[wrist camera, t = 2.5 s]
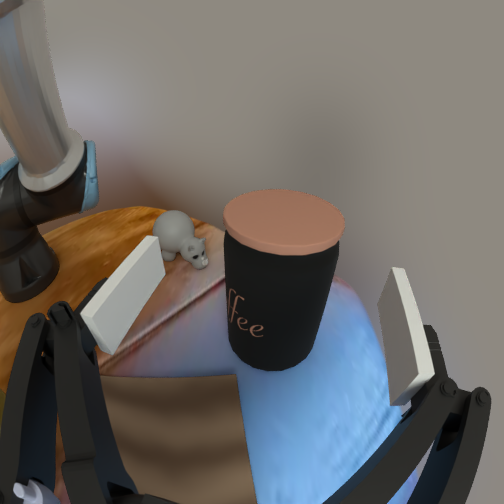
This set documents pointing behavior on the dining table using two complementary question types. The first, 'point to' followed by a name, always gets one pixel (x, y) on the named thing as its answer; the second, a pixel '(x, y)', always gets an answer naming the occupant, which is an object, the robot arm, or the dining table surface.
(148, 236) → the robot arm
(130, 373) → the dining table surface
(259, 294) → the coffee jar
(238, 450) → the walnut board
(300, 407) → the dining table surface
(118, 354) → the dining table surface
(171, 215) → the chubby cartoon animal
